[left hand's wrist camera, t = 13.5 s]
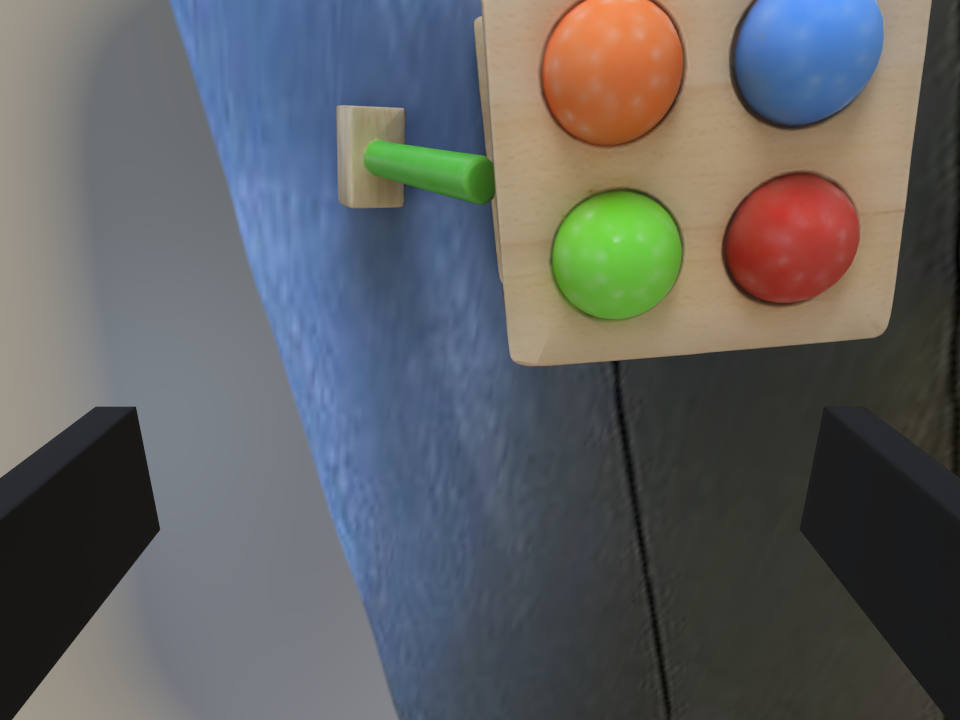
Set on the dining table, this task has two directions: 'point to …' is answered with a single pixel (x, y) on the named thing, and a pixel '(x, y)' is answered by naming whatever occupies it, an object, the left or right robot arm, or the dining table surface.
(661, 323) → the pounding bench toy
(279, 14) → the dining table surface
